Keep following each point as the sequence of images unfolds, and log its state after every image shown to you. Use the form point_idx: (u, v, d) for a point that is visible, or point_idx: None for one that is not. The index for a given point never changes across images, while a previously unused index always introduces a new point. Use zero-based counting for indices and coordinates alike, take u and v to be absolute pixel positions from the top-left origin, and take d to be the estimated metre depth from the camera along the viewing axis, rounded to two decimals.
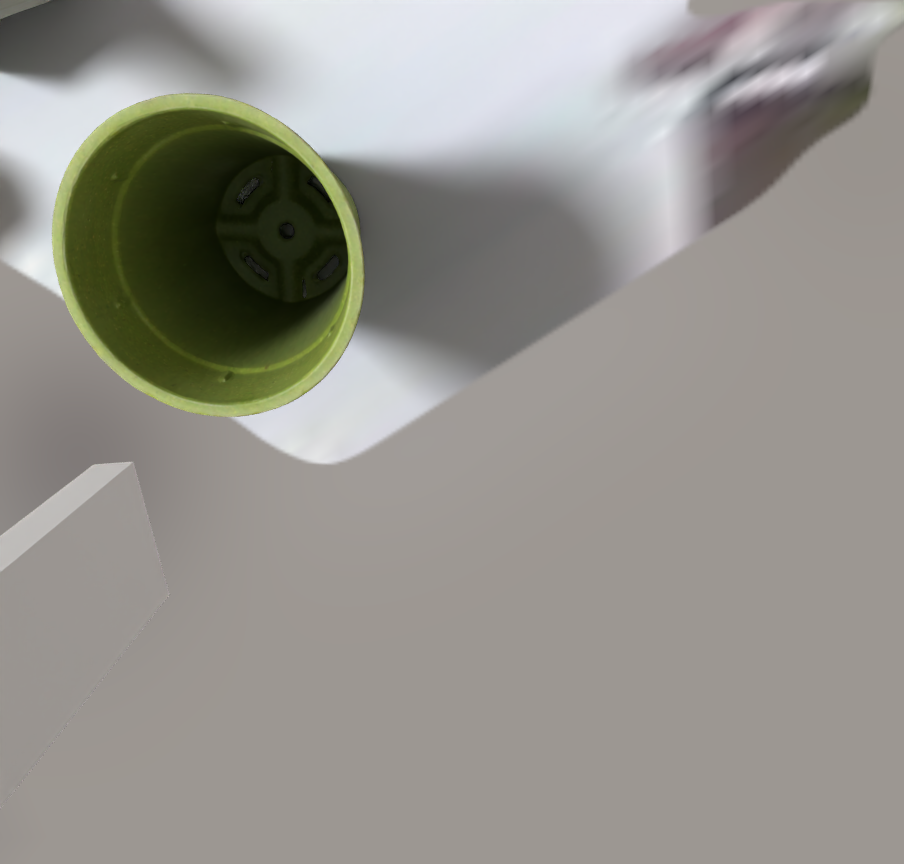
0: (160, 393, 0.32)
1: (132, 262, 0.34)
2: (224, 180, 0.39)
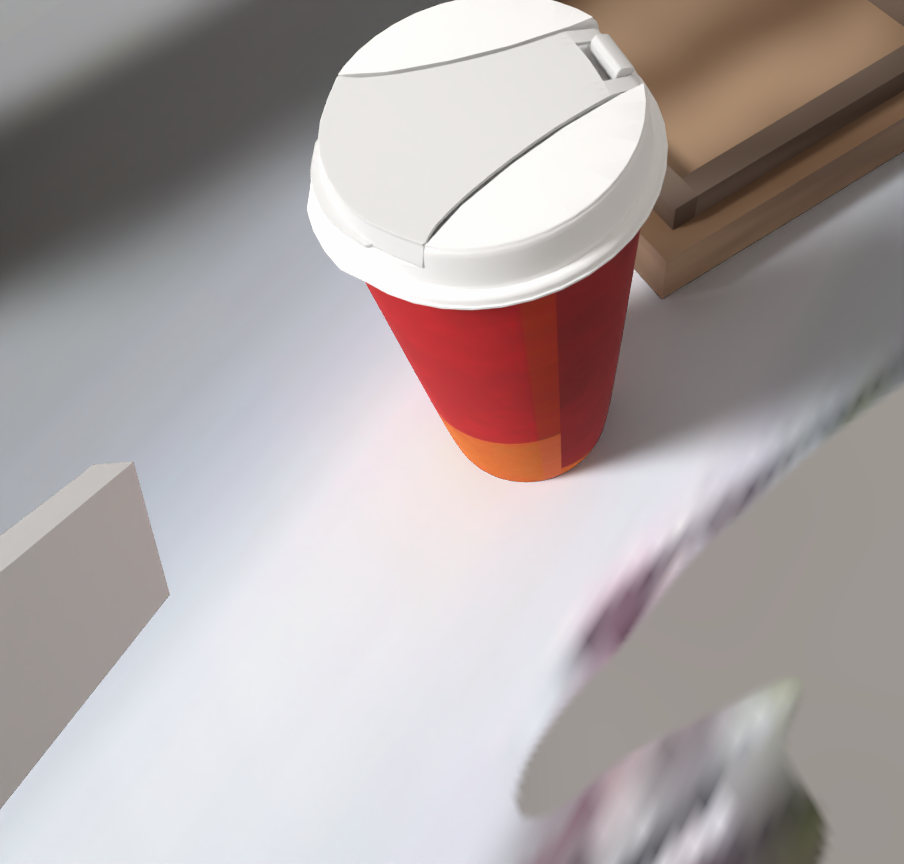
0: None
1: None
2: None
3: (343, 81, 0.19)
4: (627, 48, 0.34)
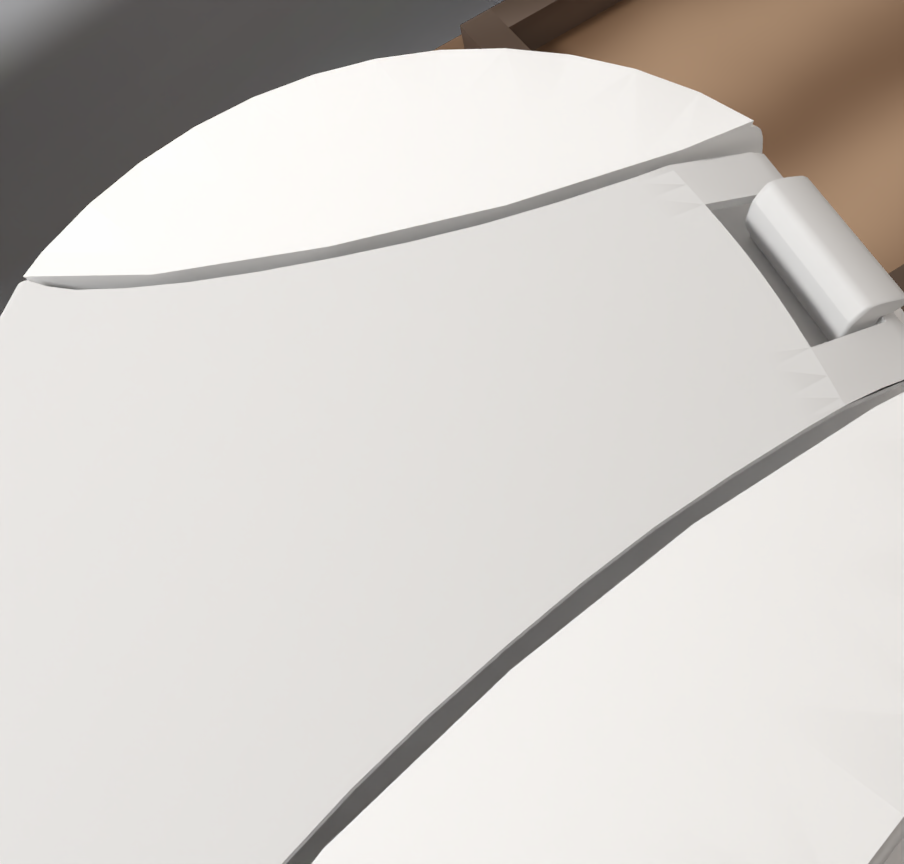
0: None
1: None
2: None
3: (31, 299, 0.07)
4: None
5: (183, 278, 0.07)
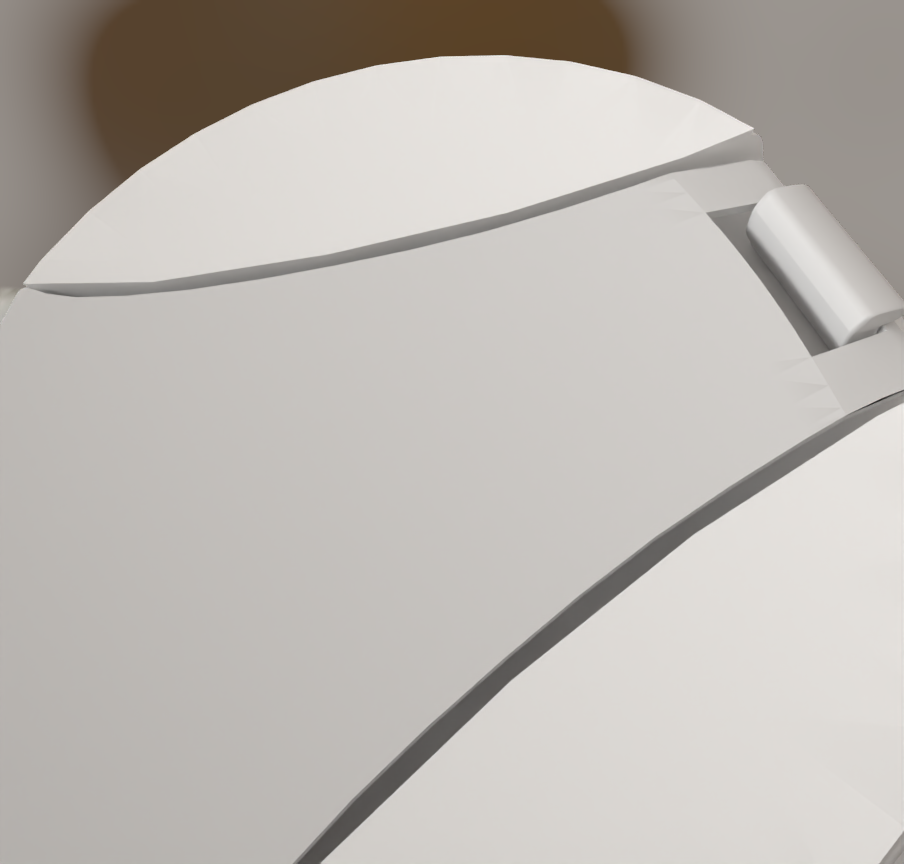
0: None
1: None
2: None
3: (31, 307, 0.07)
4: None
5: (183, 286, 0.06)
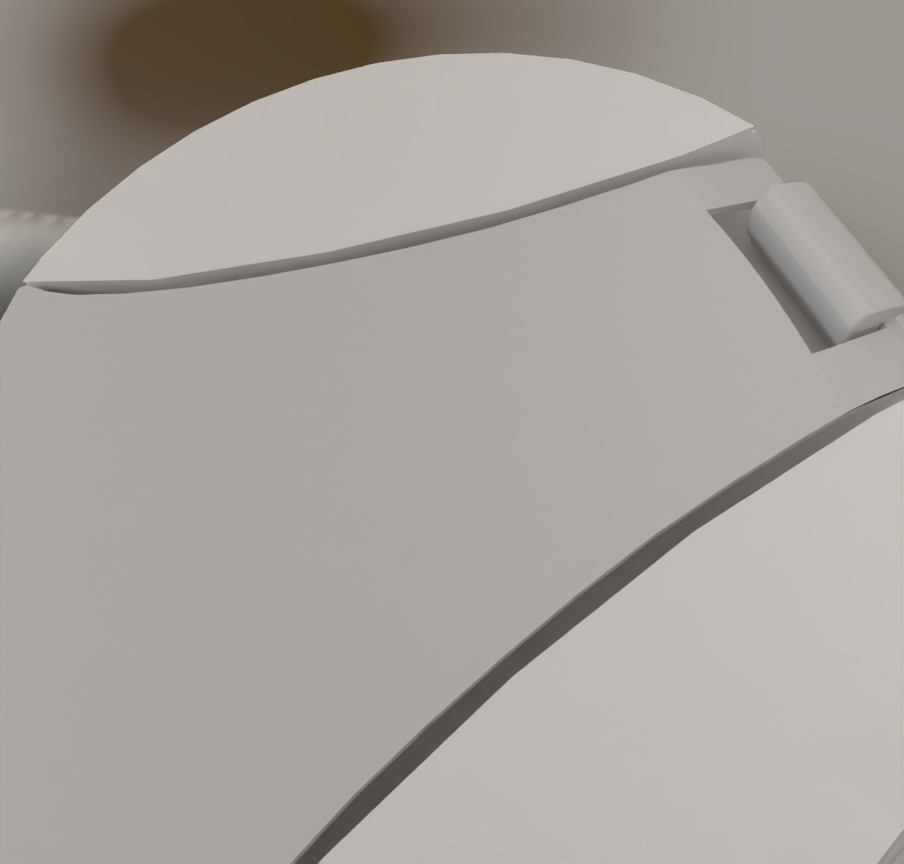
0: None
1: None
2: None
3: (31, 305, 0.06)
4: None
5: (183, 283, 0.06)
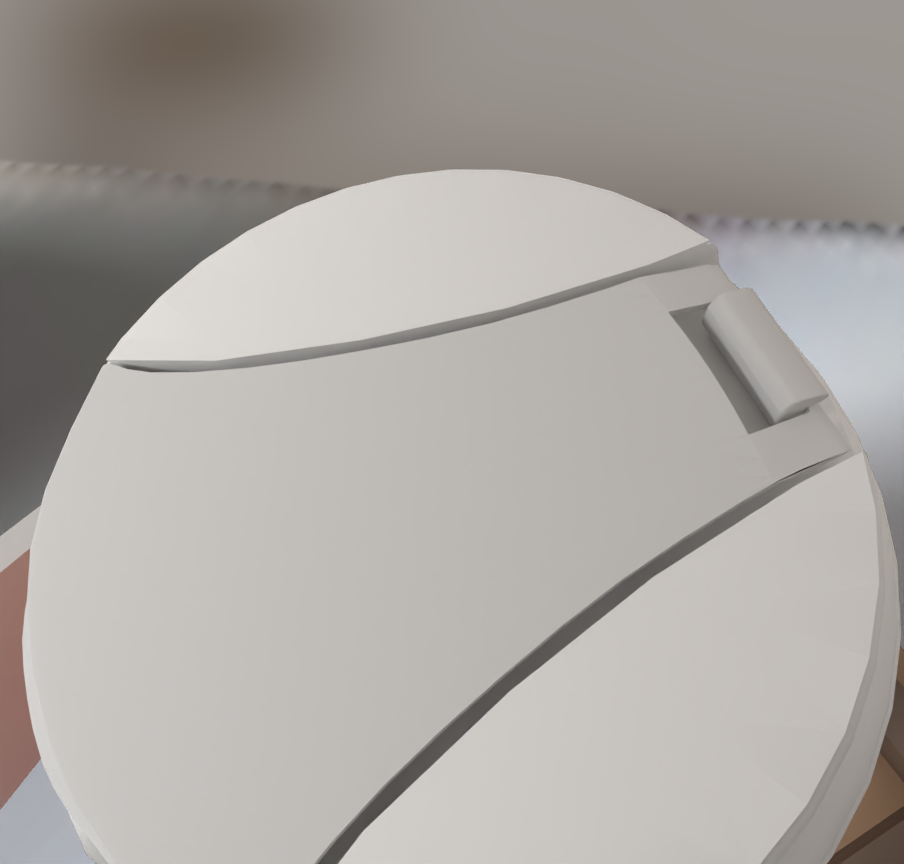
0: None
1: None
2: None
3: (114, 380, 0.08)
4: None
5: (239, 363, 0.08)
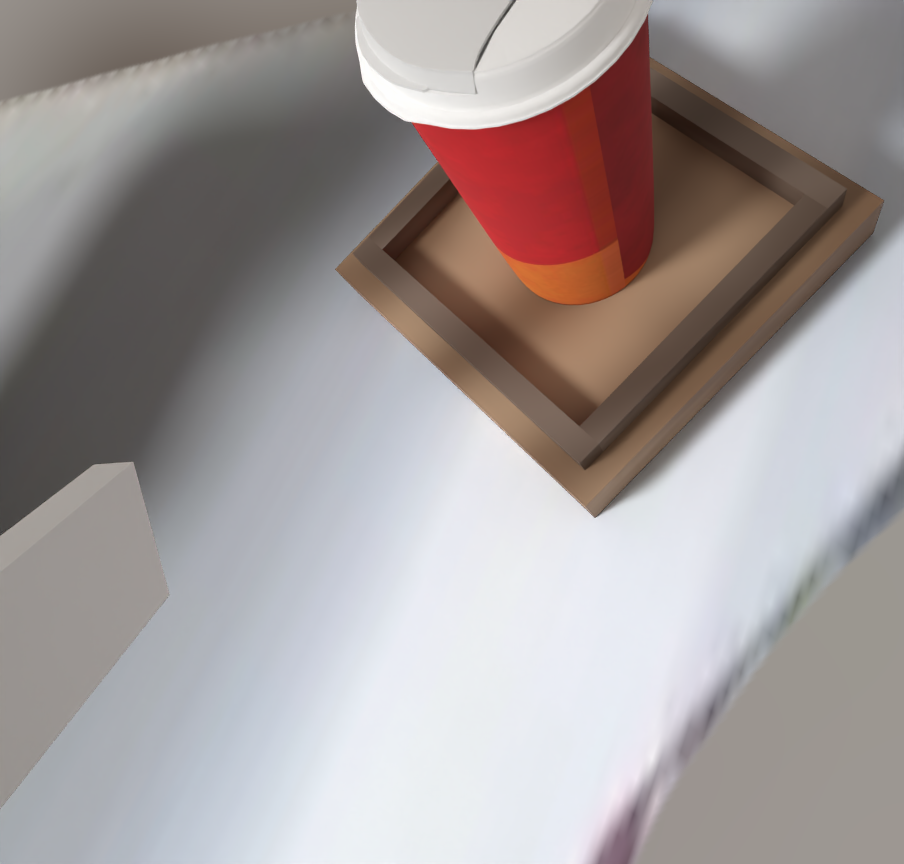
0: None
1: None
2: None
3: None
4: (508, 266, 0.35)
5: None
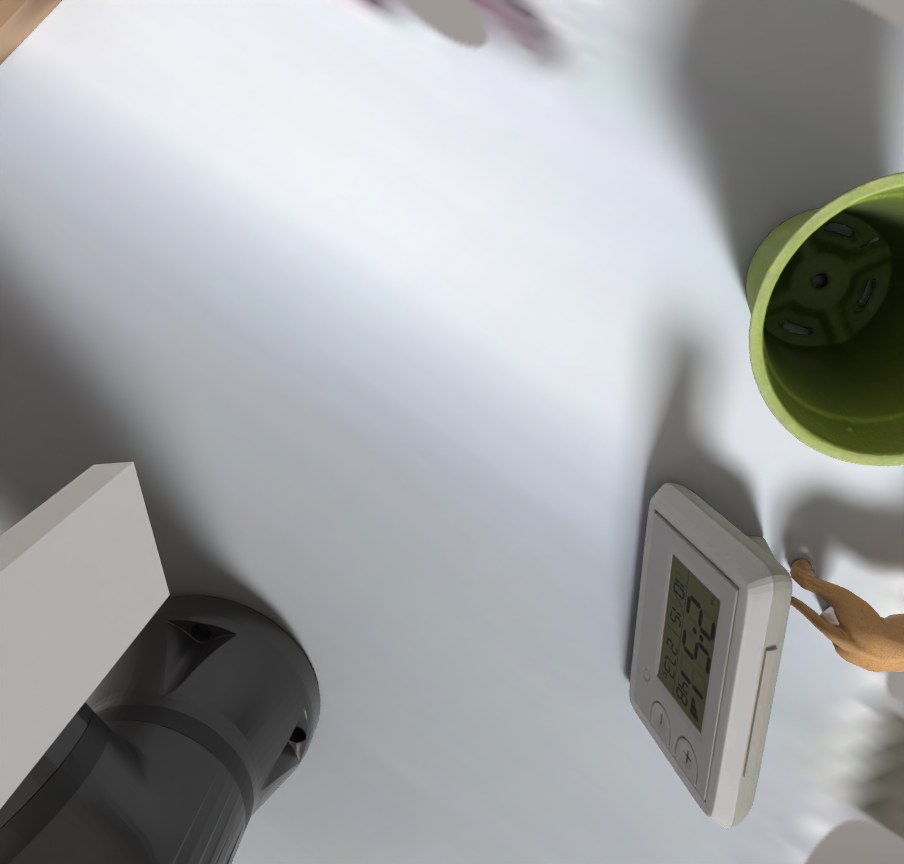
0: None
1: None
2: (798, 350, 0.43)
3: None
4: None
5: None
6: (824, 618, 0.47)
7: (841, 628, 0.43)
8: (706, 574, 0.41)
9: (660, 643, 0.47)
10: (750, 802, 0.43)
